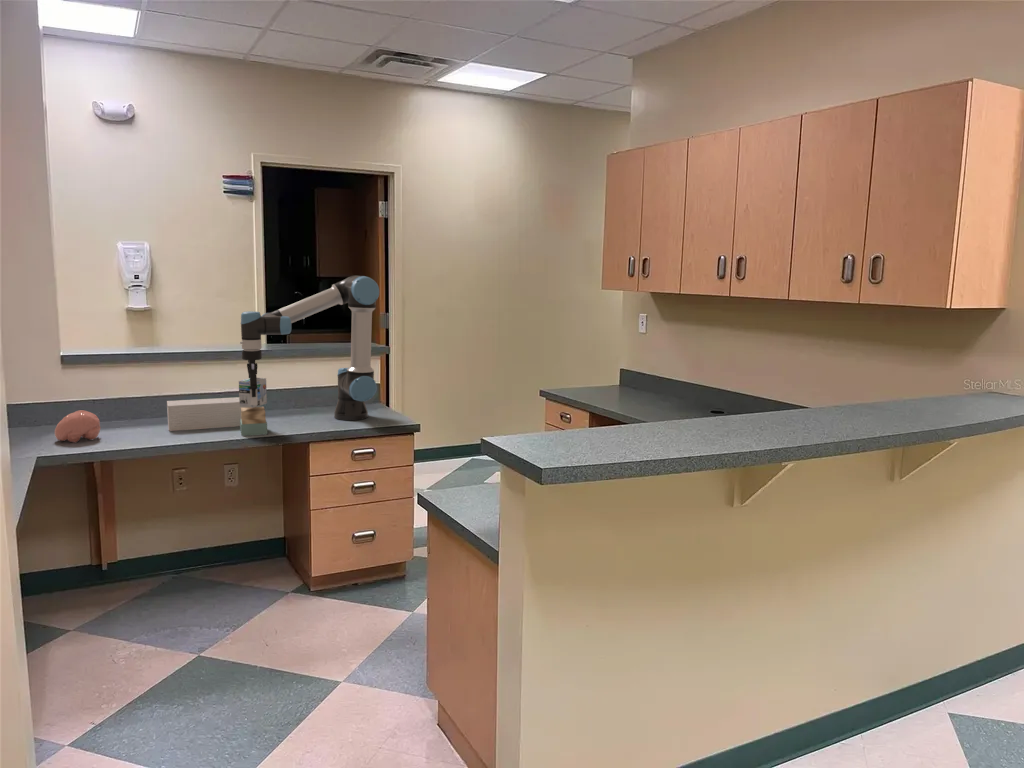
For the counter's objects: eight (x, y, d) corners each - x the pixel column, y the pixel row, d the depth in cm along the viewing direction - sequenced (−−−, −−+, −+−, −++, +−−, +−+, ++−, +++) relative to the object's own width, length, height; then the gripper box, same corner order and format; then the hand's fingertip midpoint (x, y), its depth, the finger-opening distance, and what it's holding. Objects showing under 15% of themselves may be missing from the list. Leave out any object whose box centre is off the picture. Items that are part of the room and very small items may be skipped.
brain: (61, 455, 278) (44, 427, 274) (68, 446, 290) (51, 419, 286) (104, 436, 282) (87, 408, 278) (109, 428, 294) (93, 401, 290)
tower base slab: (265, 429, 312) (265, 417, 311) (267, 434, 303) (267, 423, 302) (240, 430, 308) (239, 419, 307) (241, 436, 299) (241, 424, 298)
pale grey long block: (247, 420, 326) (246, 396, 324) (250, 425, 317) (250, 401, 315) (168, 425, 312) (166, 400, 310) (168, 431, 303) (167, 405, 301)
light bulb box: (253, 408, 298) (252, 381, 296) (238, 407, 299) (237, 380, 297) (267, 403, 308) (266, 377, 306) (253, 402, 309) (252, 376, 307)
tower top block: (264, 418, 310) (263, 406, 309) (265, 423, 302) (265, 411, 301) (241, 419, 307) (240, 407, 306) (242, 424, 298) (241, 412, 298)
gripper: (241, 346, 309) (242, 396, 313) (242, 353, 287) (244, 408, 291) (259, 345, 312) (261, 395, 316) (263, 353, 290) (264, 407, 293)
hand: (253, 401), depth 303 cm, fingers closed on light bulb box, 12 cm apart
